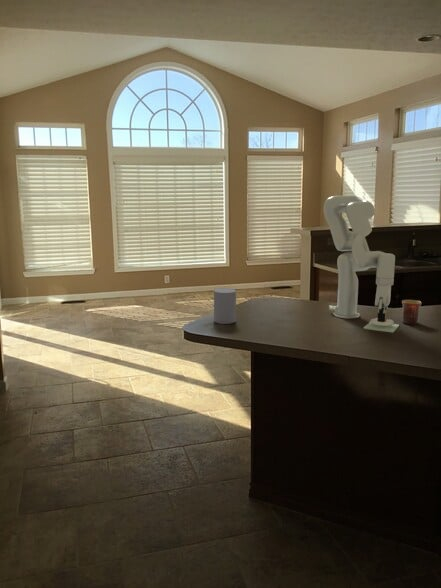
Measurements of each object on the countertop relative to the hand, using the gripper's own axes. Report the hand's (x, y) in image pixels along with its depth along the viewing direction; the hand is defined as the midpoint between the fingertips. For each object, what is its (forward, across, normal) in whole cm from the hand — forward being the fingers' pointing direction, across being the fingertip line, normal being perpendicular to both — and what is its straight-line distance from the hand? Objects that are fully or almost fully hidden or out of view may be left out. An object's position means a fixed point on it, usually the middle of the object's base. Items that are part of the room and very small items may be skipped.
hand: (382, 320), depth 238 cm
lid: (+1, 0, 0) cm, 1 cm away
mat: (+3, 0, 0) cm, 3 cm away
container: (+3, +27, -67) cm, 72 cm away
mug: (+4, -13, +10) cm, 17 cm away
